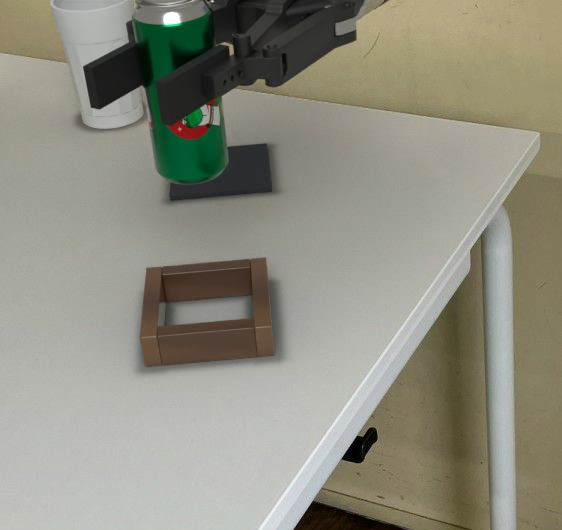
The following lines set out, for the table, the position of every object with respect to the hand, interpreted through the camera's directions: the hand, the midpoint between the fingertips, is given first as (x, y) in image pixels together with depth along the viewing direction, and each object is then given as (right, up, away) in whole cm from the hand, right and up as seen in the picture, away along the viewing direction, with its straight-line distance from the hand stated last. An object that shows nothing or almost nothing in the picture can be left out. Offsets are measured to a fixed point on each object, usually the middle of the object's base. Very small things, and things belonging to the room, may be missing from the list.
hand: (127, 95), depth 62 cm
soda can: (+3, -3, +8) cm, 9 cm away
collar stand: (+4, -13, +11) cm, 18 cm away
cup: (-8, +9, +42) cm, 44 cm away
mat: (+4, +1, +30) cm, 31 cm away
